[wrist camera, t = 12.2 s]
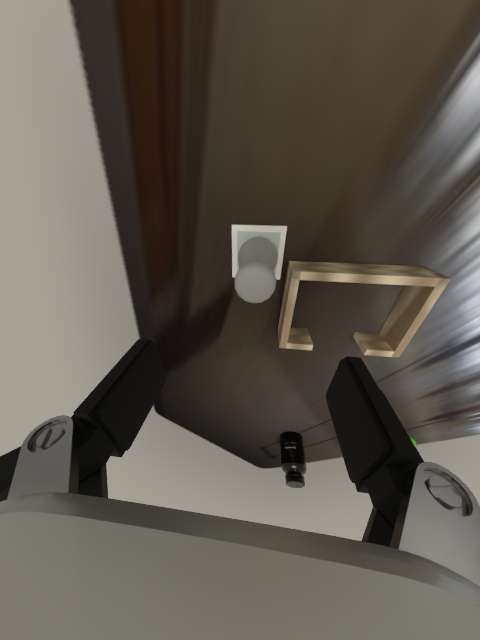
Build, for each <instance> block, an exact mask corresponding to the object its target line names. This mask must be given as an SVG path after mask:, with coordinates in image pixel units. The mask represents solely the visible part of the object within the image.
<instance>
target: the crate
mask: <svg viewBox="0 0 480 640" xmlns="http://www.w3.org/2000/svg"><path fill="white" fill-rule="evenodd" d="M450 279H451V278H449V277H446V276H444V275H442V274H440V273H437V272H435V271H433V270H431V269H428V268H426V267H424V266H401V265H377V264H353V263H330V262H306V261H288V268H287V274H286V281H285V287H284V294H283V300H282V307H281V314H280V320H279V327H278V338H279V348H288V349H301V350H312V347H313V343H312V340H311V337H310V334H309V331H308V328H297V327H290V326H291V321H292V316H293V311H294V306H295V301H296V296H297V291H298V286H299V280H312V281H332V282H351V283H371V284H391V285H405V286H404V288H403V290H402V292H401V294H400V296H399V297H398V299H397V301H396V303H395V305H394V307H393V309H392V311H391V313H390V314H389V316H388V318H387V320H386V322H385V324H384V326H383V328H382V330H381V331H380V333H366V332H355V333H354V335H353V338H354V339H355V341H356V343H357V344H358V346H359V347H360V349H361V351H362V352H363V354H364V355H374V356H386V357H398V358H399V357H400V355H401V354H402V352H403V350H404V349H405V347H406V346H407V344H408V343H409V341H410V340H411V338H412V337H413V335H414V334H415V332H416V331H417V329H418V328H419V326H420V325H421V323H422V322H423V320H424V319H425V317H426V316H427V314H428V313H429V311H430V310H431V308H432V307H433V305H434V304H435V302H436V300H437V299H438V297H439V296H440V294H441V293H442V291H443V290H444V288H445V287H446V285H447V284H448V282H449V281H450Z"/></svg>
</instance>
